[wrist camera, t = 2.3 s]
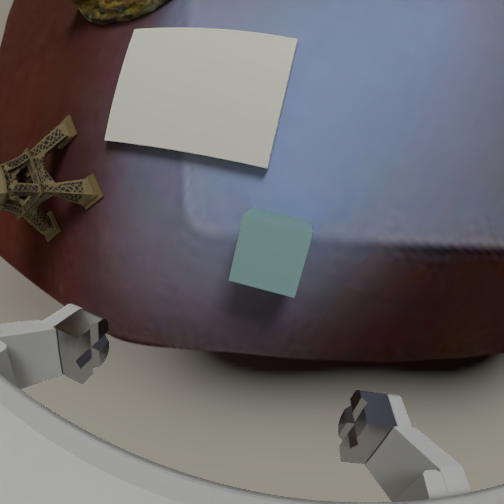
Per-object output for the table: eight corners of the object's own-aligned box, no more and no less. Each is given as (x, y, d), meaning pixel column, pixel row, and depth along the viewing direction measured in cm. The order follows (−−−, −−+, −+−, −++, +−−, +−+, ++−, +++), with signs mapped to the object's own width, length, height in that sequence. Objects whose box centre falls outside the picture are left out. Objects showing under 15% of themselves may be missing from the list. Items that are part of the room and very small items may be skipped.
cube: (310, 221, 26) (313, 232, 21) (295, 276, 27) (294, 297, 22) (253, 207, 26) (242, 214, 21) (240, 261, 28) (228, 280, 23)
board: (297, 42, 22) (297, 39, 21) (268, 168, 25) (267, 168, 24) (138, 31, 23) (134, 29, 22) (108, 140, 26) (104, 140, 26)
